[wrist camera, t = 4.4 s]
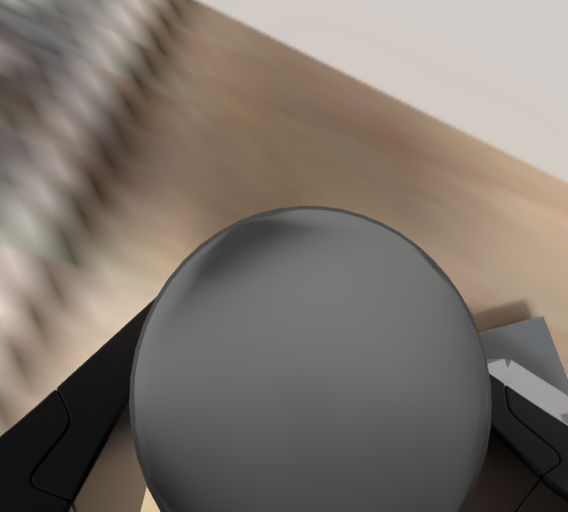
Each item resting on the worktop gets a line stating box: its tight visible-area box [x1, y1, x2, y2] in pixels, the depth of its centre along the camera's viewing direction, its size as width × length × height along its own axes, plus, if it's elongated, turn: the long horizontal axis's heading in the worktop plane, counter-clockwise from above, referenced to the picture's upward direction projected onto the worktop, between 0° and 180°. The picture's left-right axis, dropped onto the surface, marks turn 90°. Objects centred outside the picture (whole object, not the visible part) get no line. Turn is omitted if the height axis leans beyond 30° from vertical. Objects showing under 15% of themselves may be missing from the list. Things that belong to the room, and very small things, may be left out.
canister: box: [129, 206, 492, 512], centre depth 10 cm, size 5×5×11 cm
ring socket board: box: [479, 317, 568, 425], centre depth 15 cm, size 10×10×2 cm
